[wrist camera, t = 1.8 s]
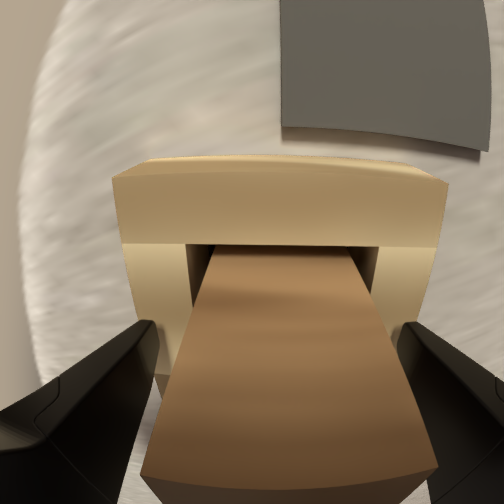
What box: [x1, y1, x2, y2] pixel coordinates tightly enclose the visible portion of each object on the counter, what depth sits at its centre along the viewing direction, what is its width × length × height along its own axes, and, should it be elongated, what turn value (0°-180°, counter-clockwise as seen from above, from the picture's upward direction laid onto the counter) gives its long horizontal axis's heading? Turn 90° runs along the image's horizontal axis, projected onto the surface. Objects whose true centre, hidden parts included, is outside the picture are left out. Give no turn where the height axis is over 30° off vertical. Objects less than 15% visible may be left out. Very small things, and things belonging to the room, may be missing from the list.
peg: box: [140, 244, 438, 504], centre depth 8 cm, size 4×4×9 cm
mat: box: [280, 0, 491, 152], centre depth 7 cm, size 8×8×1 cm
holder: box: [112, 155, 449, 400], centre depth 11 cm, size 9×9×3 cm
